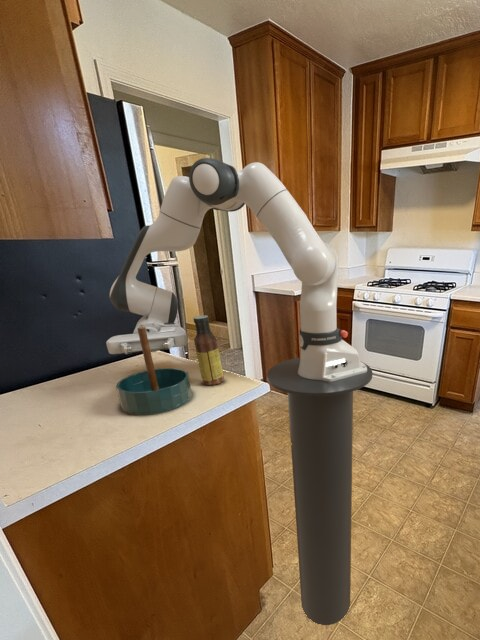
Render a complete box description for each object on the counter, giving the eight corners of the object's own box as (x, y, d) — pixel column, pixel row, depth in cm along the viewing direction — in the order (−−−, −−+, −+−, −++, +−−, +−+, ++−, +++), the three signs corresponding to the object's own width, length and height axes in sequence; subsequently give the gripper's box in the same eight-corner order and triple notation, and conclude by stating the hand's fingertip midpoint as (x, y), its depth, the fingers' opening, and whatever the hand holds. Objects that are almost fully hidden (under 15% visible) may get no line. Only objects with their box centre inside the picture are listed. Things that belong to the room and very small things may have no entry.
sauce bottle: (224, 377, 109) (215, 313, 102) (224, 384, 104) (214, 317, 96) (202, 379, 108) (191, 315, 100) (200, 387, 102) (189, 319, 95)
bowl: (190, 383, 105) (186, 364, 103) (193, 407, 90) (189, 385, 88) (125, 393, 99) (120, 373, 97) (118, 420, 84) (111, 397, 82)
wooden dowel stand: (167, 392, 98) (153, 324, 90) (167, 400, 93) (152, 328, 86) (147, 396, 96) (130, 326, 88) (145, 403, 91) (128, 331, 84)
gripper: (107, 329, 99) (99, 341, 88) (184, 322, 106) (186, 332, 95) (113, 351, 102) (105, 365, 90) (187, 342, 109) (190, 355, 97)
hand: (147, 348), depth 92 cm, fingers open, 8 cm apart
